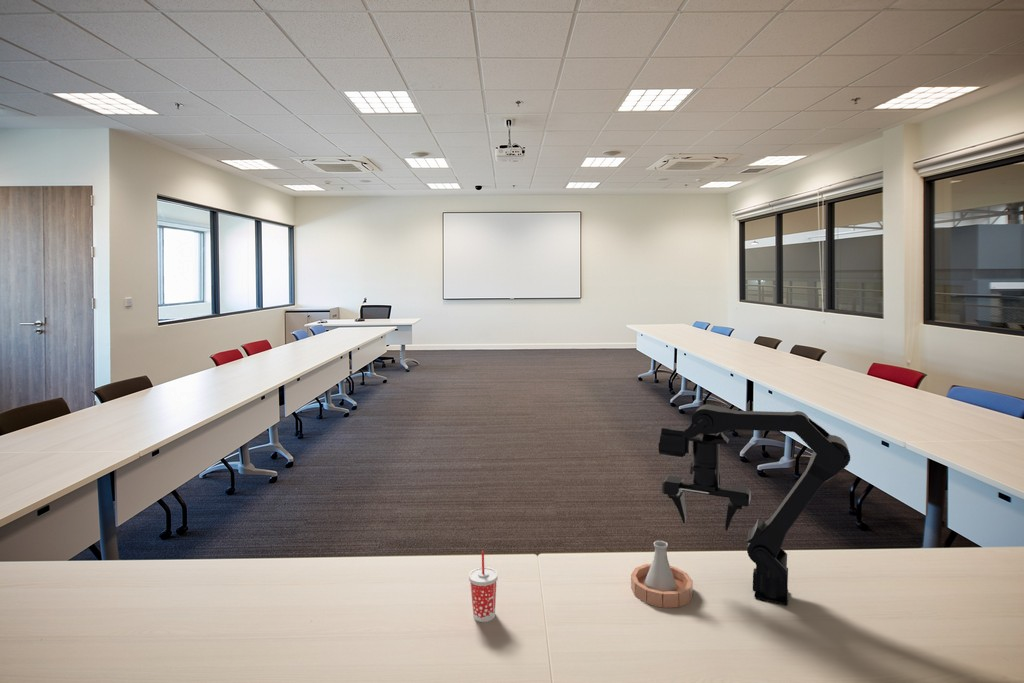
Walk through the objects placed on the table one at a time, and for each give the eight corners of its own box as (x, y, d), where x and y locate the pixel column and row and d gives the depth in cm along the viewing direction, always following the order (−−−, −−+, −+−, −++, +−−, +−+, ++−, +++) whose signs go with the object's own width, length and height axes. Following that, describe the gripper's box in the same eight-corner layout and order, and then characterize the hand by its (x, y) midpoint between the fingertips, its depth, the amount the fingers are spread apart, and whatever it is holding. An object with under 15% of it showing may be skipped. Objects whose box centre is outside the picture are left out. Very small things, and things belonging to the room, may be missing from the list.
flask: (673, 598, 115) (673, 554, 114) (640, 590, 118) (640, 547, 117) (680, 582, 121) (680, 540, 120) (648, 575, 125) (648, 534, 124)
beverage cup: (482, 604, 116) (480, 542, 115) (504, 613, 112) (503, 549, 111) (463, 617, 111) (462, 553, 110) (486, 627, 107) (485, 561, 106)
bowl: (696, 583, 122) (696, 571, 122) (685, 613, 111) (685, 599, 111) (640, 571, 128) (640, 559, 128) (624, 598, 117) (624, 585, 117)
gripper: (753, 456, 124) (751, 520, 125) (671, 446, 133) (671, 507, 134) (749, 469, 114) (748, 539, 116) (661, 459, 123) (661, 524, 124)
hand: (705, 526), depth 123 cm, fingers open, 9 cm apart
